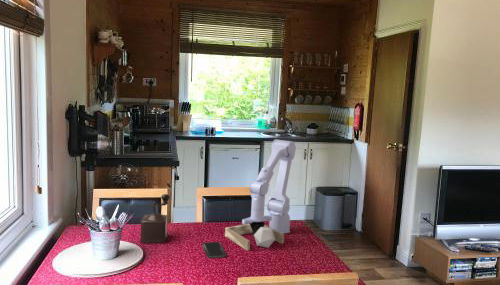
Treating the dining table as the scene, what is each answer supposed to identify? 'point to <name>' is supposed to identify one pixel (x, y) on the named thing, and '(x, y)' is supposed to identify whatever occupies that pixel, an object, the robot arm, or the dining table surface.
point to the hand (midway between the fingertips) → (256, 238)
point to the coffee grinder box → (155, 225)
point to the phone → (214, 250)
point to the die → (264, 237)
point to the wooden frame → (236, 232)
